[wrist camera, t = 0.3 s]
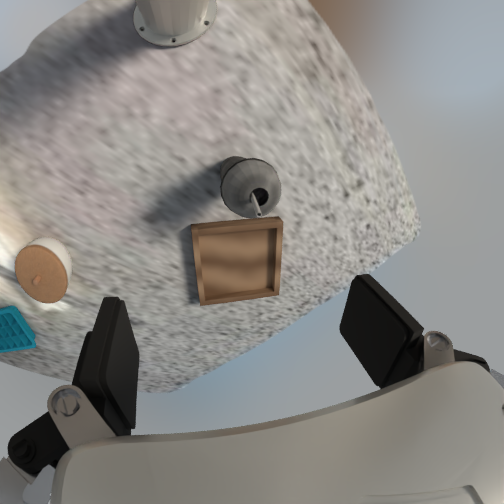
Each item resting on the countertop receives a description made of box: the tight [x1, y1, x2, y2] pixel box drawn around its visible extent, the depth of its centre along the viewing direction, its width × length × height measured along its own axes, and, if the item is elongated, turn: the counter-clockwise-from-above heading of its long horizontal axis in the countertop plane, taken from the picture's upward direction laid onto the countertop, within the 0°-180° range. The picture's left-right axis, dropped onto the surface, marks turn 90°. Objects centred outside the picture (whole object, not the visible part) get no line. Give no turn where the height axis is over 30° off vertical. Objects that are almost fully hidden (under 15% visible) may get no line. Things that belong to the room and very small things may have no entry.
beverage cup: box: [220, 156, 281, 218], centre depth 34 cm, size 7×7×20 cm
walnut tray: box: [191, 216, 283, 306], centre depth 49 cm, size 15×15×2 cm
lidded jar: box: [15, 237, 72, 303], centre depth 37 cm, size 11×11×9 cm
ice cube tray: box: [0, 306, 36, 353], centre depth 43 cm, size 12×20×3 cm, turn 99°
